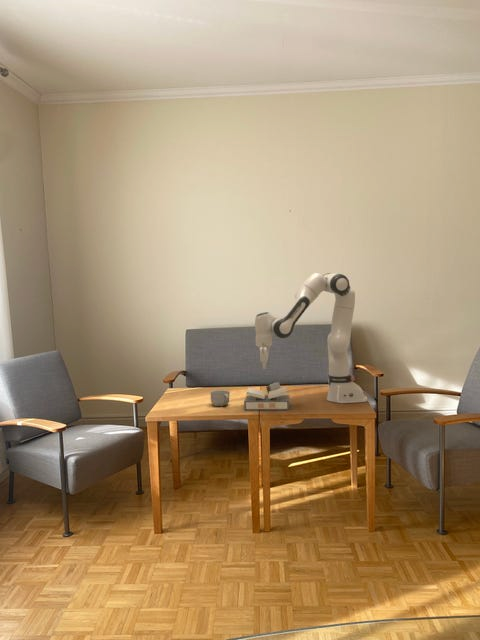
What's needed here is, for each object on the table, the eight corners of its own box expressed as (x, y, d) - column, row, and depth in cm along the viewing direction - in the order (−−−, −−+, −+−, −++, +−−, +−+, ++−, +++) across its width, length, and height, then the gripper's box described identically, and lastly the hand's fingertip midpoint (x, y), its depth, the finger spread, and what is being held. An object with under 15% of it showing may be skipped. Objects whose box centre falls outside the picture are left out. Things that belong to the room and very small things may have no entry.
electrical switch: (274, 400, 315) (272, 384, 315) (266, 400, 318) (265, 384, 318) (283, 397, 322) (281, 381, 322) (276, 397, 326) (274, 381, 325)
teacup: (208, 404, 312) (207, 390, 312) (226, 402, 316) (225, 388, 315) (216, 409, 299) (215, 395, 298) (234, 407, 303) (234, 393, 302)
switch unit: (289, 403, 306) (289, 391, 306) (289, 410, 292) (288, 397, 291) (246, 404, 309) (246, 392, 308) (244, 410, 295) (243, 398, 294)
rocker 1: (265, 394, 306) (266, 391, 306) (264, 399, 295) (264, 396, 295) (248, 390, 307) (248, 387, 306) (246, 394, 296) (246, 391, 296)
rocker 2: (287, 389, 304) (286, 386, 304) (286, 394, 293) (285, 391, 293) (269, 394, 306) (269, 391, 305) (268, 399, 295) (267, 396, 295)
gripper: (268, 344, 288) (269, 370, 290) (270, 339, 309) (271, 364, 310) (256, 345, 289) (257, 371, 290) (259, 340, 309) (260, 364, 310)
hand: (265, 367), depth 300 cm, fingers open, 8 cm apart
